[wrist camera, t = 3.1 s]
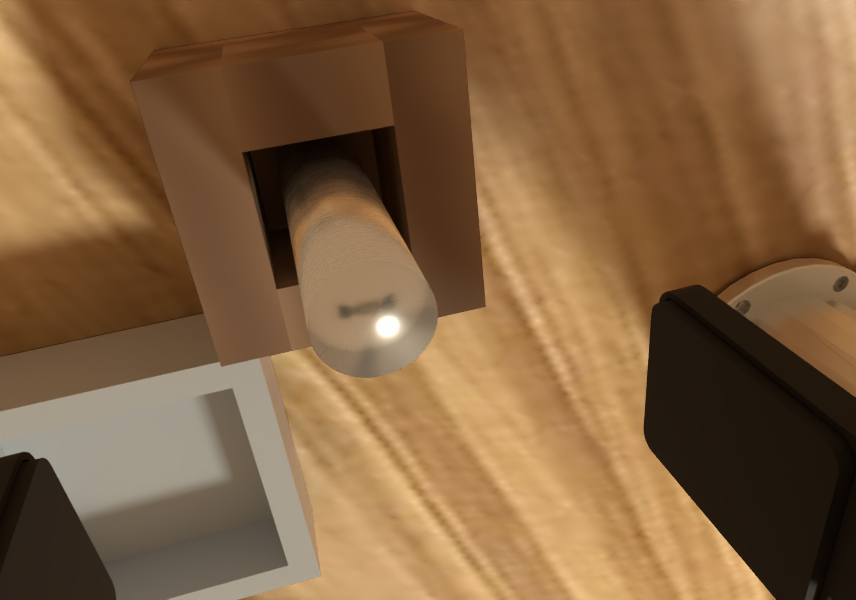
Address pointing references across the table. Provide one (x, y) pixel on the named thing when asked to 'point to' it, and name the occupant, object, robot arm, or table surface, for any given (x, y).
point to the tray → (167, 460)
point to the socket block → (302, 121)
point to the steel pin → (352, 263)
